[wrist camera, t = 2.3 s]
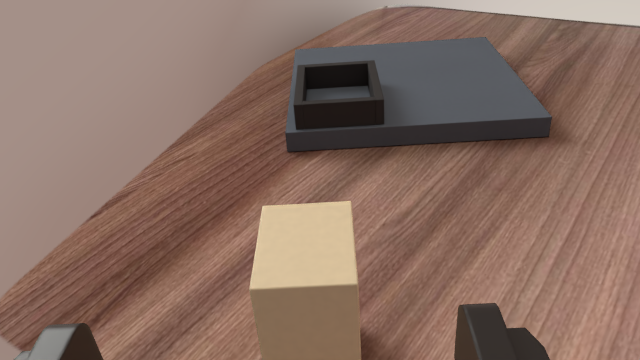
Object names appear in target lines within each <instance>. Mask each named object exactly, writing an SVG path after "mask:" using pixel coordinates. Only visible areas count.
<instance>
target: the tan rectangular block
mask: <svg viewBox="0 0 640 360" xmlns="http://www.w3.org/2000/svg"><path fill="white" fill-rule="evenodd" d="M249 291H250V296H251V301H252V307H253V312H254V317H255V323H256V328H257V333H258V339H259V344H260V349H261V354H262V360H361V338H360V313H359V288H358V274H357V262H356V250H355V238H354V226H353V215H352V203H351V201H345V202H327V203H309V204H290V205H272V206H263V207H262V213H261V219H260V225H259V231H258V238H257V244H256V250H255V257H254V263H253V269H252V276H251V282H250V288H249Z"/></svg>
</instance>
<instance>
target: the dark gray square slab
mask: <svg viewBox="0 0 640 360" xmlns="http://www.w3.org/2000/svg"><path fill="white" fill-rule="evenodd" d="M551 120H552V116H551V115H550V114H549V113H548V112H547V110H546V109H545V108H544V107H543V106H542V104H541V103H540V102H539V101H538V100H537V98H536V97H535V96H534V95H533V94H532V92H531V91H530V90H529V89H528V88H527V86H526V85H525V84H524V83H523V82H522V80H521V79H520V78H519V77H518V75H517V74H516V73H515V72H514V71H513V69H512V68H511V67H510V66H509V65H508V63H507V62H506V61H505V60H504V59H503V57H502V56H501V55H500V54H499V53H498V51H497V50H496V49H495V48H494V47H493V45H492V44H491V43H490V42H489V41H488V39H487V38H486V37H480V38H465V39H450V40H434V41H419V42H404V43H389V44H374V45H358V46H343V47H328V48H313V49H298V50H295V58H294V66H293V75H292V83H291V91H290V100H289V108H288V116H287V124H286V133H285V134H286V142H287V151H288V152H292V151H309V150H326V149H343V148H360V147H377V146H394V145H411V144H428V143H445V142H463V141H480V140H497V139H514V138H531V137H548V136H549V131H550V125H551Z"/></svg>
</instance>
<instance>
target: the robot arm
mask: <svg viewBox="0 0 640 360" xmlns="http://www.w3.org/2000/svg"><path fill="white" fill-rule="evenodd" d="M454 358H455V360H550V359H549V357H548V355H547V353H546V350H545V348H544V347H543V345H542V344H541V343H540V342H539V341H538V340H537V339H536V338H535V337H534V336H533V335H532V334H531V333H530V332H529V331H528V330H527V329H526V328H506V325H505V322H504V320H503V317H502V315H501V312H500V310H499V307H498V306H497V304H496V303H486V304H466V305H459V308H458V316H457V328H456V340H455V353H454ZM14 360H103V358H102V356H101V353H100V351H99V349H98V346H97V344H96V342H95V339H94V337H93V335H92V332H91V330H90V328H89V326H88V325H87V324H85V323H79V324H60V325H49V326H47V327H46V328H45V329H44V330H43V331H42V333H41V334H40V336H39V338H38V339H37V341H36V343H35V345H34V346H33V348H32V350H31V351H22V352H21V353H20V354H19V355H18V356H17V357H16V358H15V359H14Z"/></svg>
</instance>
